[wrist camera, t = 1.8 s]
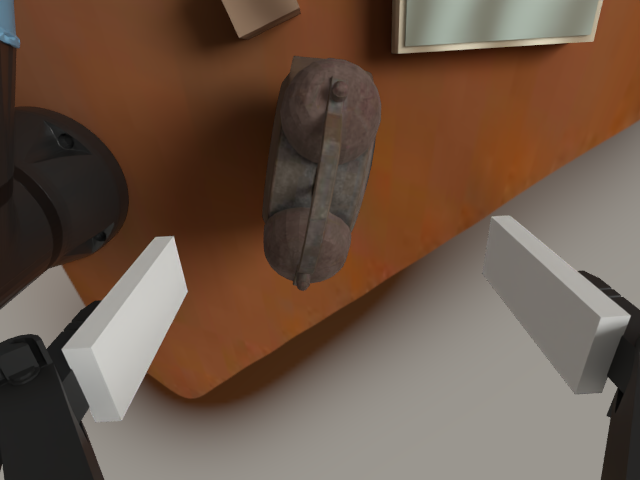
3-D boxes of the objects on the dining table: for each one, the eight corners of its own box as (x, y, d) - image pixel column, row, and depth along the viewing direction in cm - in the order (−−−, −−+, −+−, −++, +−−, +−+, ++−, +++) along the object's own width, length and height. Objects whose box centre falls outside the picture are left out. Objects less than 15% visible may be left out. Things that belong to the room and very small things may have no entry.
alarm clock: (338, 212, 41) (361, 339, 23) (270, 201, 40) (239, 324, 22) (371, 64, 34) (440, 80, 16) (291, 47, 34) (272, 45, 16)
